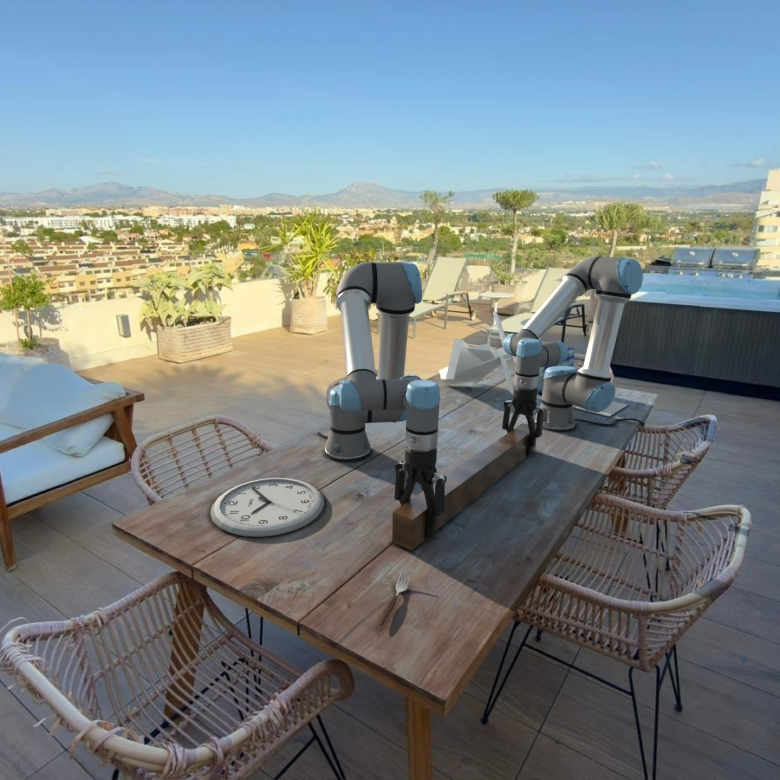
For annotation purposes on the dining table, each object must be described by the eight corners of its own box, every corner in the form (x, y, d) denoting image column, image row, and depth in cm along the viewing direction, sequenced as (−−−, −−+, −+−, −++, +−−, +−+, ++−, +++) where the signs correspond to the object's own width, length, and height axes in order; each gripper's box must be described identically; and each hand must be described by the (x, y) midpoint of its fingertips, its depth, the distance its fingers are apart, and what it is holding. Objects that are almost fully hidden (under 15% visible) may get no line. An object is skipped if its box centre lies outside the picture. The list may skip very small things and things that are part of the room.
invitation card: (608, 416, 214) (573, 407, 224) (608, 416, 214) (573, 408, 224) (628, 404, 229) (594, 396, 238) (628, 405, 229) (594, 397, 238)
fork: (373, 626, 100) (374, 617, 99) (401, 576, 114) (401, 568, 113) (386, 630, 99) (386, 621, 98) (412, 579, 113) (412, 571, 112)
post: (520, 445, 183) (522, 423, 181) (535, 449, 180) (537, 427, 178) (392, 542, 126) (392, 511, 124) (411, 550, 123) (412, 519, 120)
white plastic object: (461, 429, 252) (437, 405, 227) (444, 352, 274) (420, 323, 250) (535, 404, 240) (518, 377, 215) (510, 326, 262) (492, 293, 237)
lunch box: (546, 398, 236) (551, 353, 229) (525, 393, 243) (529, 349, 237) (573, 387, 253) (579, 344, 247) (553, 382, 260) (558, 341, 254)
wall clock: (322, 529, 128) (196, 532, 126) (322, 534, 129) (197, 538, 126) (326, 473, 157) (223, 476, 154) (326, 478, 157) (224, 481, 155)
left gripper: (379, 441, 125) (378, 525, 132) (447, 462, 114) (442, 553, 122) (398, 431, 131) (396, 512, 138) (464, 451, 120) (458, 538, 127)
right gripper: (494, 384, 172) (489, 448, 179) (549, 395, 161) (542, 463, 168) (504, 379, 178) (499, 442, 185) (558, 389, 167) (550, 455, 174)
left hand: (417, 531), depth 130 cm, fingers closed on post, 6 cm apart
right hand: (519, 452), depth 176 cm, fingers closed on post, 6 cm apart
